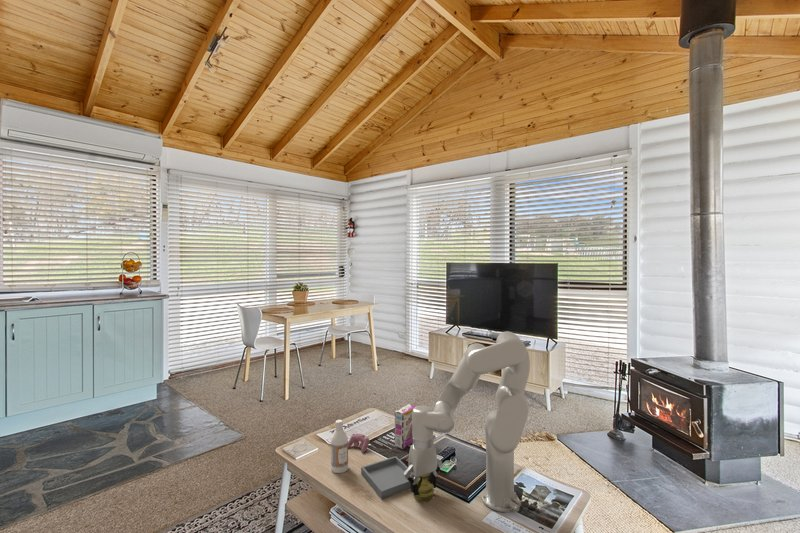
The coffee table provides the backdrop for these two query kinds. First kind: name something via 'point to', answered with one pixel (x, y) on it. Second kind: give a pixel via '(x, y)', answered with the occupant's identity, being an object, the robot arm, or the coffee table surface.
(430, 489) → the salt shaker
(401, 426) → the candy bar box
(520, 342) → the robot arm
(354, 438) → the pink lumpy piece
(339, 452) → the bath foam
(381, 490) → the tray
